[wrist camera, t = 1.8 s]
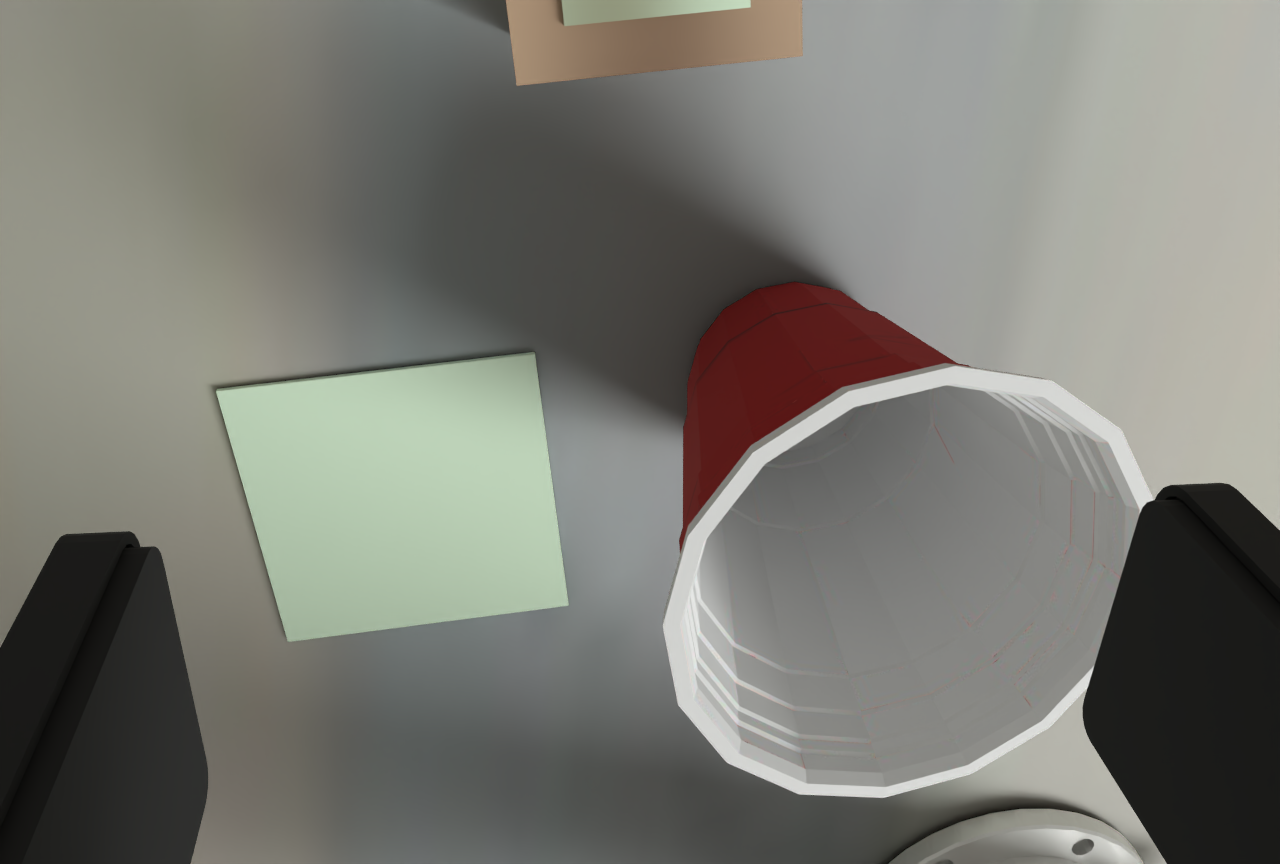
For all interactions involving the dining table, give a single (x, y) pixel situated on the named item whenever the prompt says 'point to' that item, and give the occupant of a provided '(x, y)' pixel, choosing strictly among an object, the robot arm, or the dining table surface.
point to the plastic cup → (884, 549)
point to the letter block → (646, 35)
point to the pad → (400, 494)
